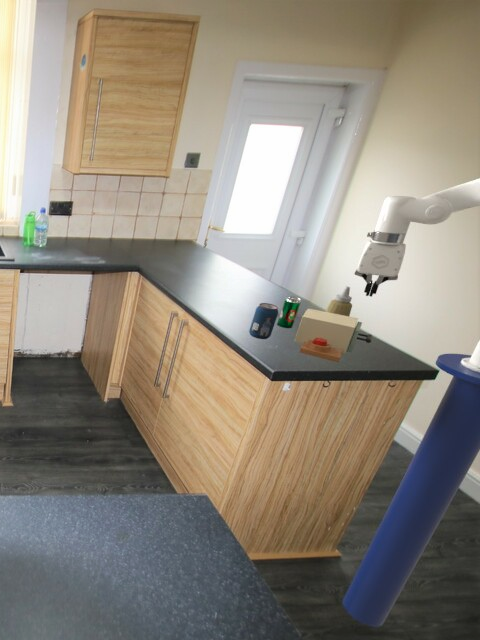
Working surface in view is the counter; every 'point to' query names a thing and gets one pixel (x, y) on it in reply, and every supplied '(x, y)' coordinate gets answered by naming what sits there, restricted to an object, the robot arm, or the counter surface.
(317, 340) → the button
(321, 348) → the control block
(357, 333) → the grey piece
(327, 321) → the cream appliance housing
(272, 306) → the soda can
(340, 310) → the squeeze bottle
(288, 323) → the soda can
